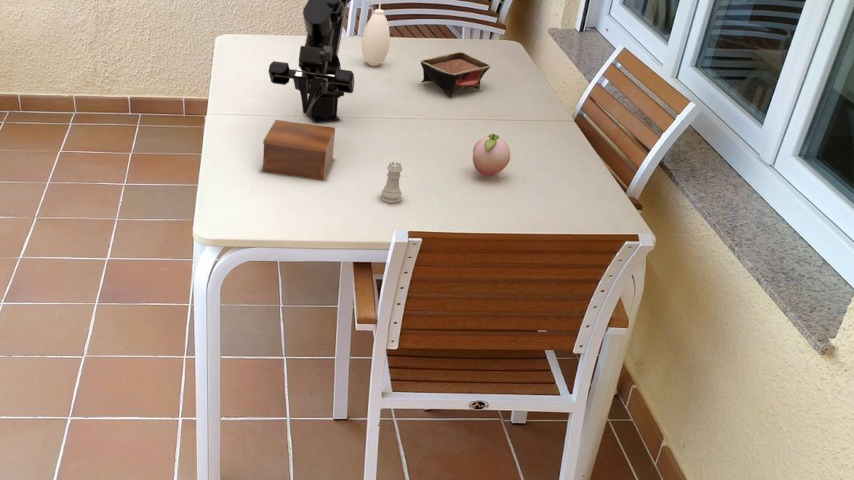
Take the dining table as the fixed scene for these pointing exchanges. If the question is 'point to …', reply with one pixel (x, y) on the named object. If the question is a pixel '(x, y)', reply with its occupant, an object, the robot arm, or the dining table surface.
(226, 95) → the dining table surface
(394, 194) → the rook chess piece
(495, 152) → the decorative fruit
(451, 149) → the dining table surface
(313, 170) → the bin
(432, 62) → the square footed planter
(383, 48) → the cream tall oval piece
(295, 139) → the bin lid
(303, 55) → the robot arm
